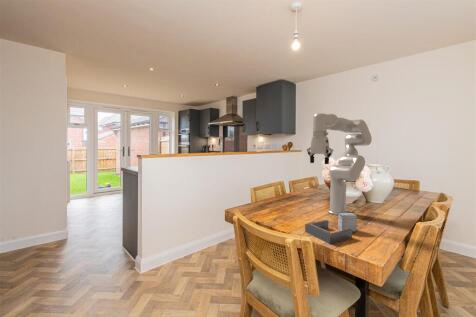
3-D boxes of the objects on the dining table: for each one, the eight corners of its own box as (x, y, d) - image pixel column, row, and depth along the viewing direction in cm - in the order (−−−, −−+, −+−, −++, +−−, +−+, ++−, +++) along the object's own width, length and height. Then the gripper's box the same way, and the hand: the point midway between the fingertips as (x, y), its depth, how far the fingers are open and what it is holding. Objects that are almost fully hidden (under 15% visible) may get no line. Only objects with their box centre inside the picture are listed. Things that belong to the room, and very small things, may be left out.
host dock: (326, 227, 124) (326, 218, 123) (352, 238, 109) (352, 228, 109) (305, 231, 117) (305, 223, 117) (329, 244, 103) (329, 234, 102)
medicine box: (352, 228, 122) (352, 212, 121) (356, 231, 117) (357, 215, 117) (337, 228, 121) (338, 212, 121) (341, 232, 117) (342, 215, 116)
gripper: (336, 134, 129) (336, 164, 130) (311, 135, 143) (310, 162, 144) (329, 134, 125) (329, 165, 126) (303, 135, 139) (303, 162, 140)
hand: (319, 163), depth 135 cm, fingers open, 9 cm apart
